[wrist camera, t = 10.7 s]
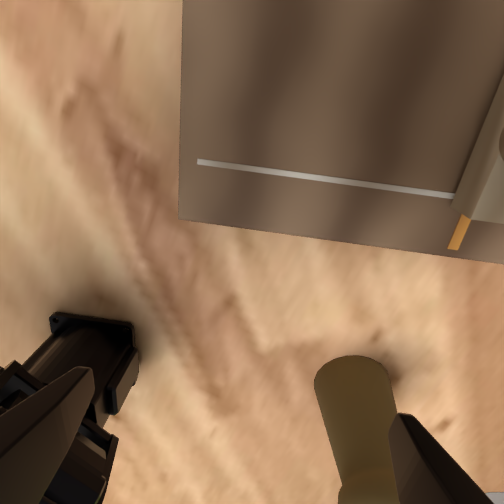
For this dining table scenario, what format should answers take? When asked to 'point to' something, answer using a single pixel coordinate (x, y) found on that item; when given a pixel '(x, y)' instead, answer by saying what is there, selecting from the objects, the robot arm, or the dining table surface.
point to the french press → (496, 497)
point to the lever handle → (485, 169)
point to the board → (339, 118)
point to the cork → (359, 427)
